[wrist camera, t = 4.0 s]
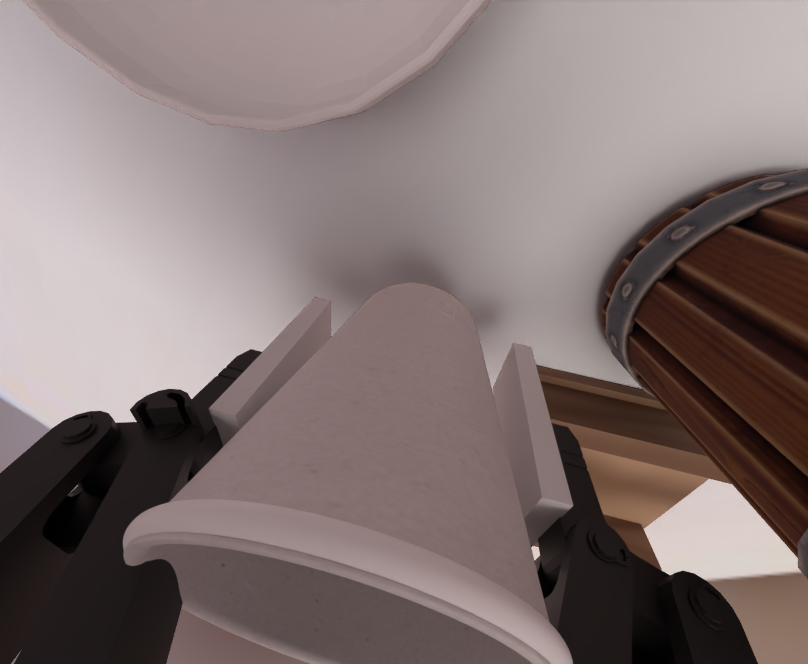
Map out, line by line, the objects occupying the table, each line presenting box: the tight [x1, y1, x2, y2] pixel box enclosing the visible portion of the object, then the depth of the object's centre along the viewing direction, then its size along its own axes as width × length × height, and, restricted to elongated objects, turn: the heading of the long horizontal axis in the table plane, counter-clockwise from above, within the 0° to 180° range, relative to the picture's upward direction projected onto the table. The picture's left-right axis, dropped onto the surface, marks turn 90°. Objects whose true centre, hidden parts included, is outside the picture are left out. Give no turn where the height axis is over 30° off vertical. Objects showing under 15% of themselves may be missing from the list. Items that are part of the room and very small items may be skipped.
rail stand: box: [533, 366, 732, 570], centre depth 20 cm, size 14×14×4 cm
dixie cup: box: [123, 283, 573, 664], centre depth 10 cm, size 8×8×10 cm
